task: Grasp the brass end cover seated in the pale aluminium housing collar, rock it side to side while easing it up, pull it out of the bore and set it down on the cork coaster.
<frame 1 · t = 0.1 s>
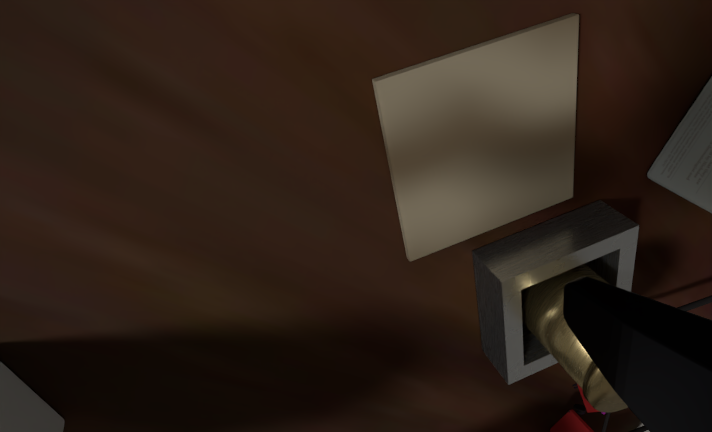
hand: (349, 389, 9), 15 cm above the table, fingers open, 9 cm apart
coaster: (483, 144, 26), on the table
housing: (538, 278, 32), on the table
supplement box: (711, 136, 31), on the table
glasses: (634, 348, 41), on the table
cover: (581, 320, 29), in the housing
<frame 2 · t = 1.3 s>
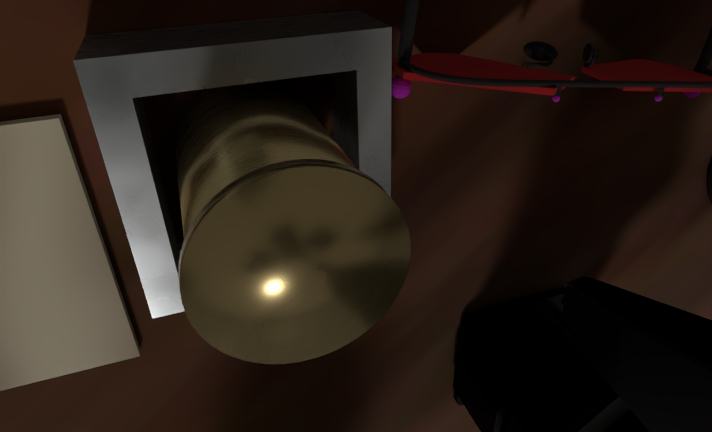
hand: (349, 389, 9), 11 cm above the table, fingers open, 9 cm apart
housing: (248, 145, 19), on the table
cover: (270, 196, 15), in the housing
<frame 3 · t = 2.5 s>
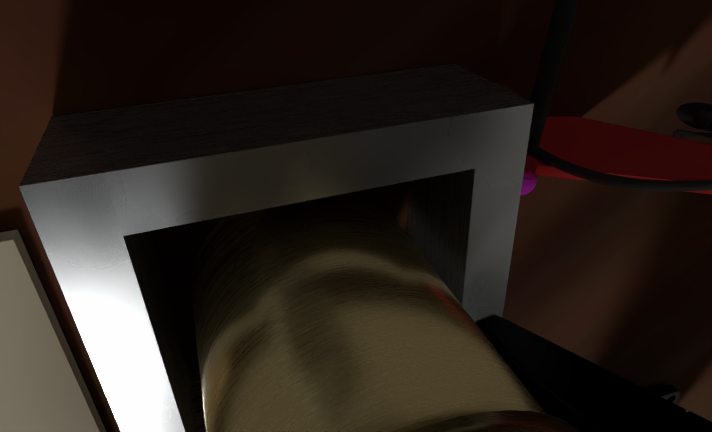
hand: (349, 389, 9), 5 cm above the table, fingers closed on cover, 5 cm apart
housing: (293, 252, 13), on the table
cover: (340, 367, 10), in the housing, touching gripper
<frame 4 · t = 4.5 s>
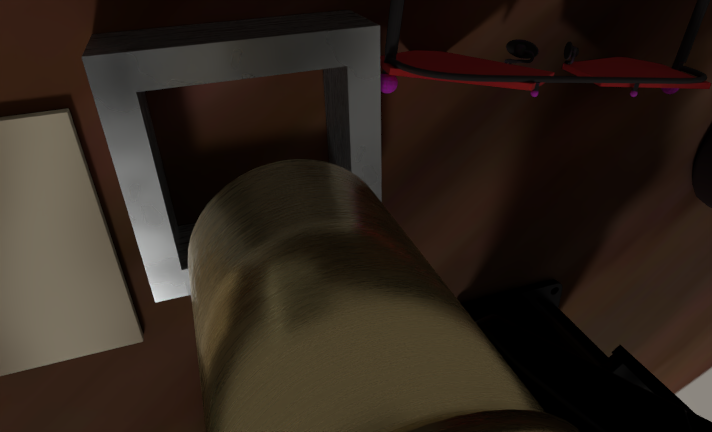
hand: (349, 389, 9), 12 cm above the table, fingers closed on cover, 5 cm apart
housing: (246, 139, 19), on the table
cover: (340, 366, 10), point 12 cm above the table, touching gripper
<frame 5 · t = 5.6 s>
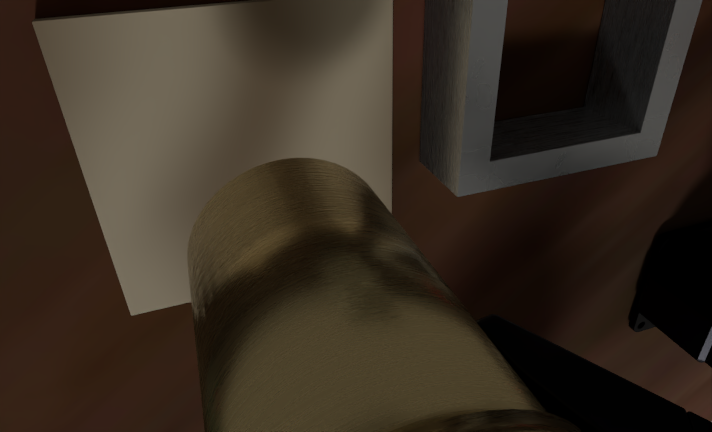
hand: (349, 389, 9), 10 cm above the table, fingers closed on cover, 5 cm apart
coaster: (250, 160, 18), on the table
housing: (529, 36, 19), on the table
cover: (340, 366, 10), point 10 cm above the table, touching gripper
when the fingers open (6 cm above the table, at t = 6.6 s): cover drops 2 cm, resting on coaster.
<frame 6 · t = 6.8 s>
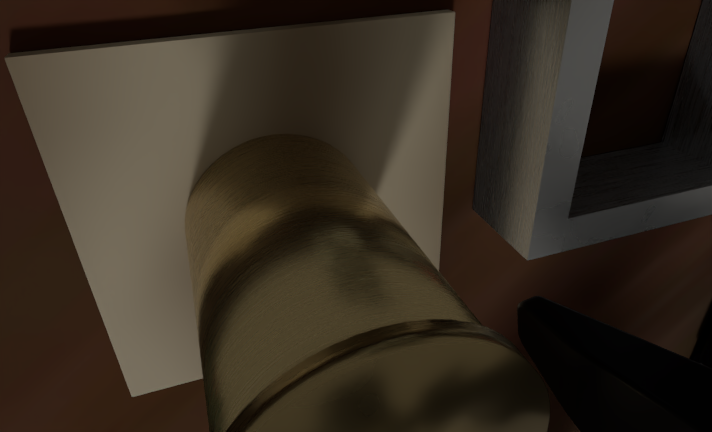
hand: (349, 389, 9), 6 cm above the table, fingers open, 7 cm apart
coaster: (276, 214, 15), on the table
housing: (607, 63, 16), on the table
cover: (320, 313, 11), on the coaster
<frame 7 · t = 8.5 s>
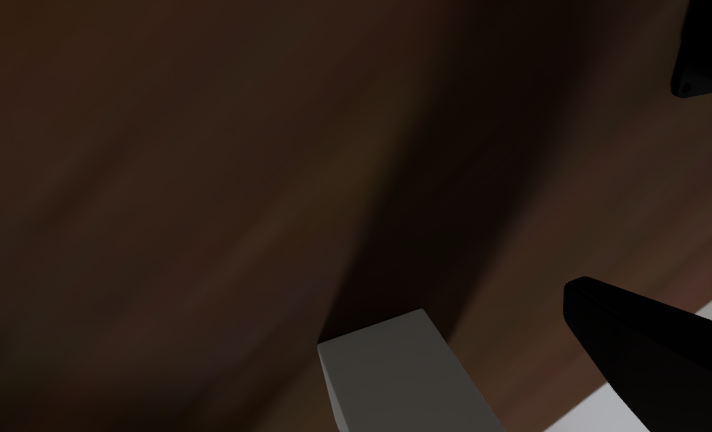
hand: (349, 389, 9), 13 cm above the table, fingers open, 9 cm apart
milk: (375, 360, 29), on the table
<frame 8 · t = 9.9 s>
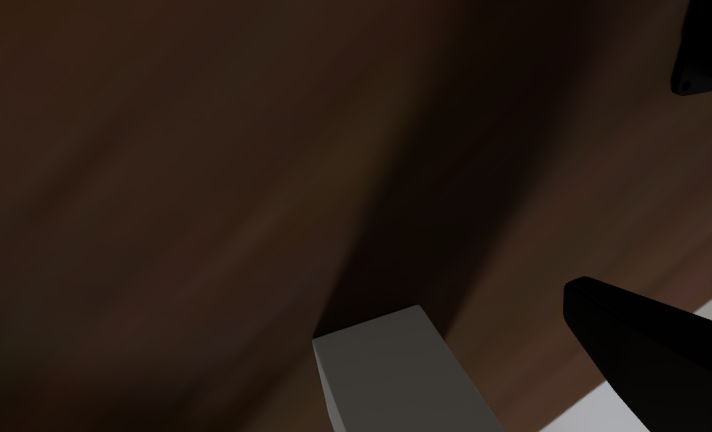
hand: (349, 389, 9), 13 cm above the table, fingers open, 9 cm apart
milk: (370, 357, 29), on the table
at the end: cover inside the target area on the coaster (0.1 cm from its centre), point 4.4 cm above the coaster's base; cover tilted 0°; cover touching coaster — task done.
